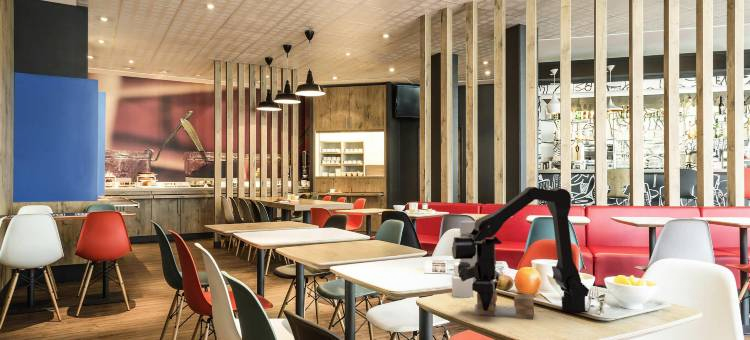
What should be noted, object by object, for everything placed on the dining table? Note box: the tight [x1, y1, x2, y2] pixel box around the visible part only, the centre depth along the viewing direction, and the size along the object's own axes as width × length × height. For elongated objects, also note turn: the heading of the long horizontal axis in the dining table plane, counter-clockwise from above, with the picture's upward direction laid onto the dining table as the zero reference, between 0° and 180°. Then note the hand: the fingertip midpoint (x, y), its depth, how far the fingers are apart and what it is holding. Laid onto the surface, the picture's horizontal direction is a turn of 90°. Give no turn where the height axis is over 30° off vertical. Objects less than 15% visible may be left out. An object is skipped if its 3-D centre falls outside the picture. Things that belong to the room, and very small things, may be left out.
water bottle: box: [459, 220, 477, 282], centre depth 209 cm, size 9×8×25 cm
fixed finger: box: [513, 293, 535, 321], centre depth 157 cm, size 5×6×6 cm
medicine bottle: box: [451, 261, 474, 298], centre depth 188 cm, size 7×7×12 cm
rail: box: [472, 303, 535, 321], centre depth 159 cm, size 18×6×3 cm, turn 70°
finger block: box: [476, 290, 498, 314], centre depth 160 cm, size 5×6×6 cm
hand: (486, 308), depth 160 cm, fingers closed on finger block, 6 cm apart
